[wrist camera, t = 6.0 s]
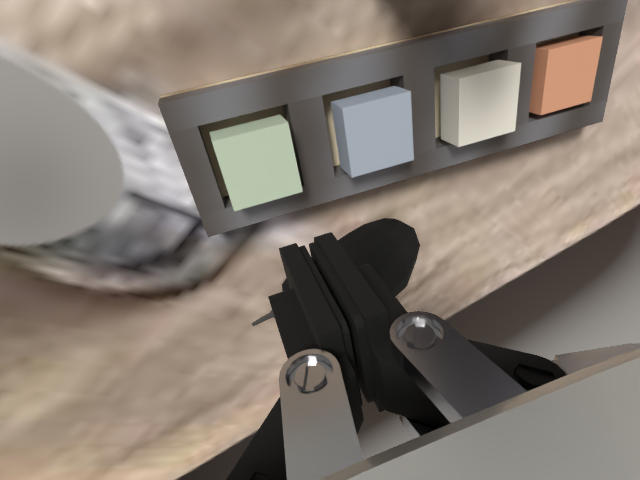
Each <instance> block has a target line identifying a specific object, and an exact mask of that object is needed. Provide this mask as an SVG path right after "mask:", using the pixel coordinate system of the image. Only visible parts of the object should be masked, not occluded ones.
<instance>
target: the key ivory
mask: <svg viewBox="0 0 640 480" xmlns="http://www.w3.org/2000/svg"><path fill="white" fill-rule="evenodd" d="M520 72H521V63H519V62H512V61H504V60H495V61H491V62H487V63H483V64H479V65H475V66H471V67H467V68H463V69H459V70H455V71H451V72H447V73H443V74H440V106H441V139H442V140H444V141H446V142H449V143H451V144H453V145H455V146H457V147H461V146H465V145H468V144H471V143H475V142H478V141H482V140H485V139H489V138H492V137H496V136H499V135H503V134H506V133H510V132H513V131H515V127H516V116H517V105H518V94H519V83H520Z"/></svg>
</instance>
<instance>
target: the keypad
mask: <svg viewBox="0 0 640 480" xmlns="http://www.w3.org/2000/svg"><path fill="white" fill-rule="evenodd" d="M626 5H627V0H572V1H567V2H563V3H559V4H554V5H550V6H546V7H541V8H537V9H533V10H528V11H524V12H520V13H516V14H511V15H507V16H503V17H498V18H494V19H490V20H485V21H481V22H477V23H472V24H468V25H464V26H459V27H455V28H451V29H446V30H442V31H438V32H433V33H429V34H425V35H420V36H416V37H412V38H408V39H403V40H399V41H395V42H390V43H386V44H382V45H377V46H373V47H369V48H364V49H360V50H356V51H351V52H347V53H343V54H338V55H334V56H330V57H325V58H321V59H317V60H313V61H308V62H304V63H300V64H295V65H291V66H287V67H282V68H278V69H274V70H269V71H265V72H261V73H256V74H252V75H248V76H243V77H239V78H235V79H230V80H226V81H222V82H217V83H213V84H209V85H205V86H200V87H196V88H192V89H187V90H183V91H179V92H174V93H170V94H166V95H161V96H160V99H159V103H158V105H159V108H160V110H161V113H162V116H163V118H164V121H165V124H166V126H167V129H168V132H169V134H170V137H171V140H172V142H173V145H174V148H175V150H176V153H177V156H178V158H179V161H180V164H181V166H182V169H183V172H184V174H185V177H186V180H187V182H188V185H189V187H190V190H191V193H192V195H193V198H194V201H195V203H196V206H197V209H198V211H199V214H200V217H201V219H202V222H203V225H204V227H205V230H206V233H207V235H208V237H210V236H214V235H217V234H221V233H224V232H227V231H231V230H234V229H238V228H241V227H244V226H248V225H251V224H255V223H258V222H261V221H265V220H268V219H272V218H275V217H278V216H282V215H285V214H289V213H292V212H295V211H299V210H302V209H306V208H309V207H312V206H316V205H319V204H323V203H326V202H330V201H333V200H336V199H340V198H343V197H347V196H350V195H353V194H357V193H360V192H364V191H367V190H370V189H374V188H377V187H381V186H384V185H387V184H391V183H394V182H398V181H401V180H404V179H408V178H411V177H415V176H418V175H421V174H425V173H428V172H432V171H435V170H438V169H442V168H445V167H449V166H452V165H455V164H459V163H462V162H466V161H469V160H473V159H476V158H479V157H483V156H486V155H490V154H493V153H496V152H500V151H503V150H507V149H510V148H513V147H517V146H520V145H524V144H527V143H530V142H534V141H537V140H541V139H544V138H547V137H551V136H554V135H558V134H561V133H564V132H568V131H571V130H575V129H578V128H581V127H585V126H588V125H592V124H595V123H598V122H602V121H603V117H604V112H605V107H606V102H607V97H608V92H609V88H610V83H611V78H612V73H613V68H614V63H615V58H616V54H617V49H618V44H619V39H620V34H621V29H622V24H623V20H624V15H625V10H626ZM575 35H585V36H603V39H602V44H601V50H600V55H599V61H598V66H597V71H596V77H595V82H594V87H593V93H592V98H591V101H589V102H586V103H582V104H579V105H575V106H572V107H568V108H565V109H561V110H558V111H554V112H551V113H547V114H543V115H538V114H535V113H531V112H529V107H530V98H531V89H532V79H533V70H534V61H535V51H536V45H539V44H543V43H547V42H551V41H555V40H559V39H563V38H567V37H571V36H575ZM495 60H504V61H512V62H519V63H521V72H520V83H519V94H518V105H517V116H516V127H515V131H513V132H510V133H506V134H503V135H499V136H496V137H492V138H489V139H485V140H482V141H478V142H475V143H471V144H468V145H465V146H461V147H457V146H455V145H453V144H451V143H449V142H446V141H444V140H442V139H441V106H440V74H443V73H447V72H451V71H455V70H459V69H463V68H467V67H471V66H475V65H479V64H483V63H487V62H491V61H495ZM391 86H397V87H400V88H403V89H406V90H409V91H411V107H412V128H413V149H414V160H412V161H409V162H405V163H402V164H398V165H395V166H391V167H388V168H384V169H381V170H377V171H374V172H370V173H367V174H363V175H360V176H356V177H353V178H352V177H350V176H349V175H348V174H347V173H346V172H345V171H344V170H343V169H342V168H341V167H340V161H339V154H338V147H337V141H336V134H335V128H334V121H333V115H332V108H331V102H332V101H336V100H340V99H344V98H348V97H352V96H356V95H360V94H364V93H368V92H371V91H375V90H379V89H383V88H387V87H391ZM276 115H281V116H282V117H283V118H284V119H285V120H286V121H287V122H288V124H289V129H290V134H291V139H292V143H293V148H294V153H295V157H296V162H297V167H298V171H299V176H300V181H301V186H302V190H303V192H300V193H297V194H293V195H290V196H286V197H283V198H279V199H276V200H272V201H269V202H265V203H262V204H258V205H255V206H251V207H248V208H244V209H241V210H237V211H234V209H233V206H232V203H231V200H230V197H229V194H228V191H227V188H226V184H225V181H224V178H223V175H222V172H221V169H220V166H219V163H218V160H217V157H216V153H215V150H214V147H213V144H212V141H211V136H210V132H212V131H216V130H220V129H224V128H228V127H232V126H236V125H240V124H244V123H248V122H252V121H256V120H260V119H264V118H268V117H272V116H276Z"/></svg>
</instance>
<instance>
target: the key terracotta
mask: <svg viewBox="0 0 640 480" xmlns="http://www.w3.org/2000/svg"><path fill="white" fill-rule="evenodd" d="M602 39H603V36H585V35H575V36H571V37H567V38H563V39H559V40H555V41H551V42H547V43H543V44H539V45H536V51H535V61H534V70H533V79H532V89H531V98H530V107H529V112H531V113H535V114H538V115H543V114H547V113H551V112H554V111H558V110H561V109H565V108H568V107H572V106H575V105H579V104H582V103H586V102H589V101H591V98H592V93H593V87H594V82H595V77H596V71H597V66H598V61H599V55H600V50H601V44H602Z"/></svg>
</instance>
